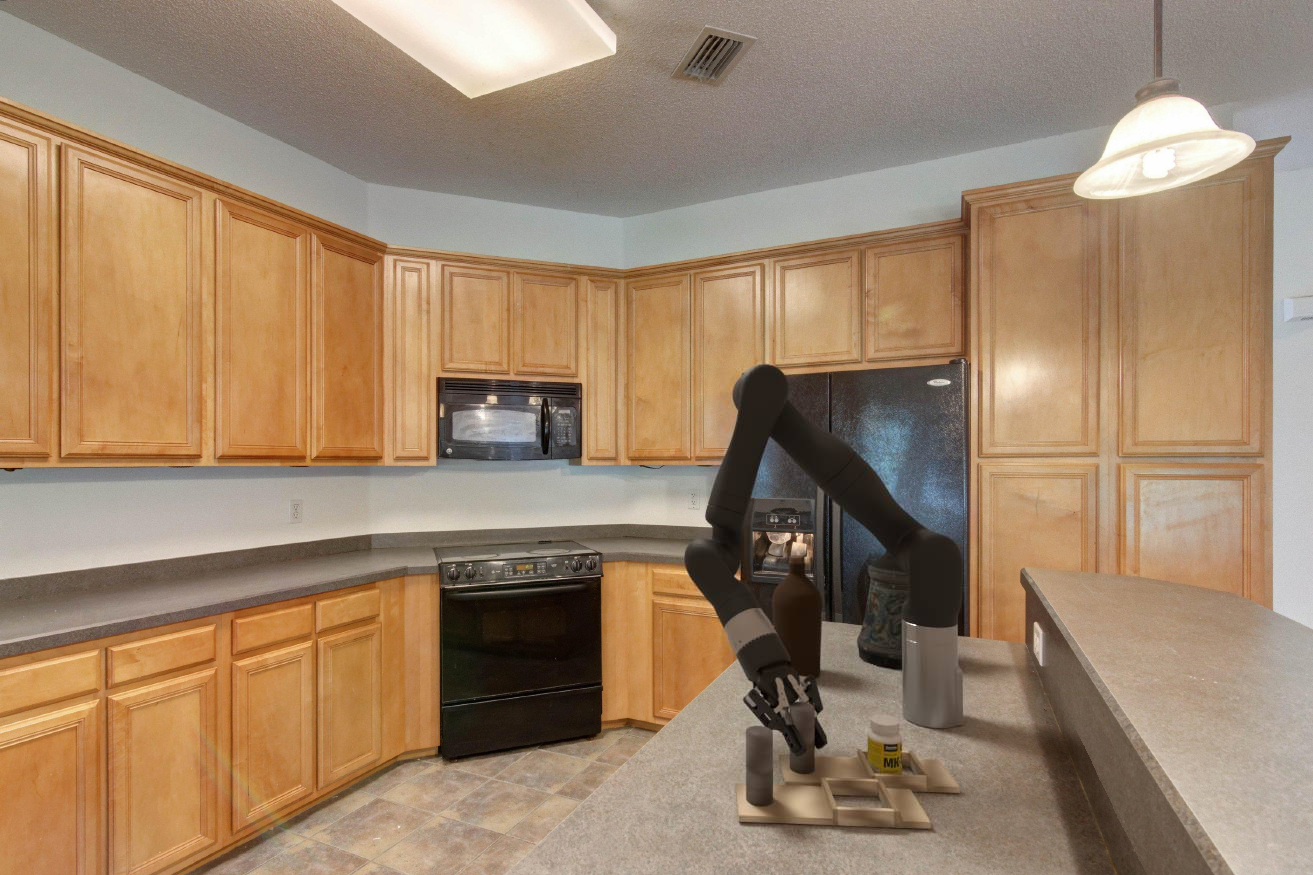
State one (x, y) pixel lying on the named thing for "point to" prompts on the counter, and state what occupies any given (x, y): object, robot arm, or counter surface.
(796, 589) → the olive oil
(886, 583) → the beer stein
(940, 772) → the wooden rack with post
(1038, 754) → the counter surface
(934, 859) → the counter surface
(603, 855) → the counter surface
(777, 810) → the empty strip
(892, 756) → the supplement bottle
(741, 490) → the robot arm
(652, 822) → the counter surface
